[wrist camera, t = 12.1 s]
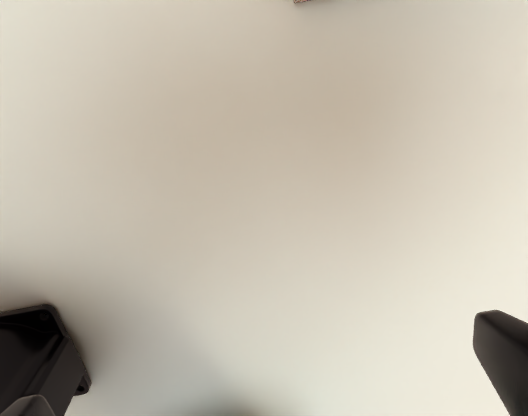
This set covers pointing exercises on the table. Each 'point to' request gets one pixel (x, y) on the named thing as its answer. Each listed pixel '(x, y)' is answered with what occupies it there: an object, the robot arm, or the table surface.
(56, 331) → the robot arm
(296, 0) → the peg stand
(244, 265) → the table surface
